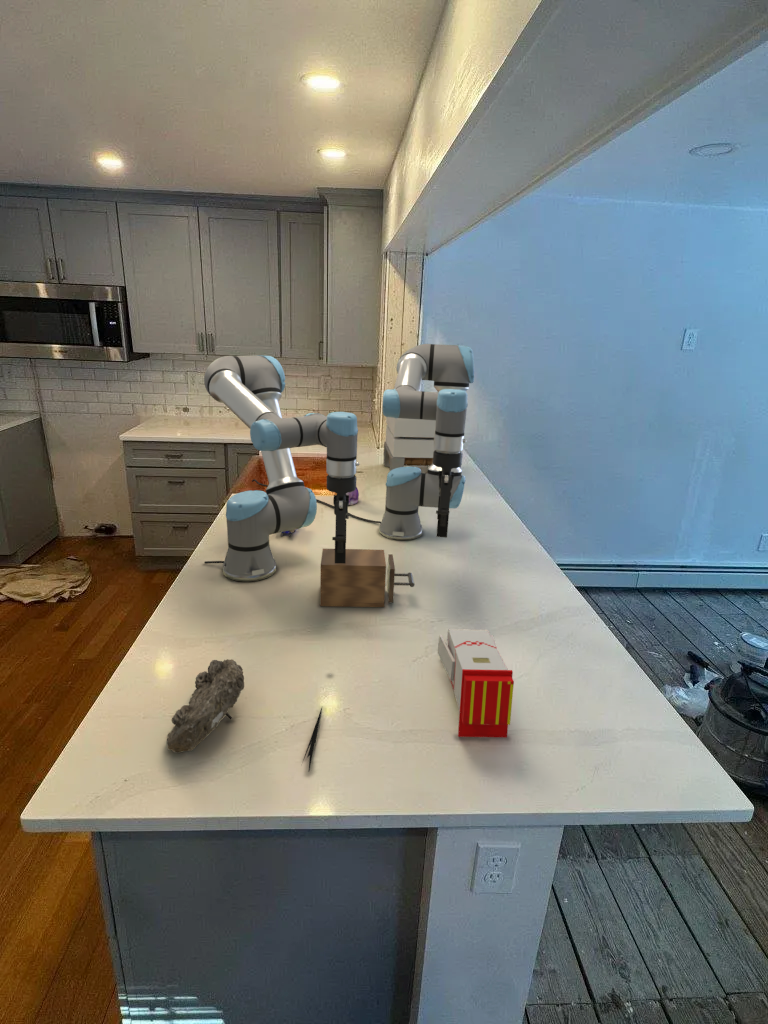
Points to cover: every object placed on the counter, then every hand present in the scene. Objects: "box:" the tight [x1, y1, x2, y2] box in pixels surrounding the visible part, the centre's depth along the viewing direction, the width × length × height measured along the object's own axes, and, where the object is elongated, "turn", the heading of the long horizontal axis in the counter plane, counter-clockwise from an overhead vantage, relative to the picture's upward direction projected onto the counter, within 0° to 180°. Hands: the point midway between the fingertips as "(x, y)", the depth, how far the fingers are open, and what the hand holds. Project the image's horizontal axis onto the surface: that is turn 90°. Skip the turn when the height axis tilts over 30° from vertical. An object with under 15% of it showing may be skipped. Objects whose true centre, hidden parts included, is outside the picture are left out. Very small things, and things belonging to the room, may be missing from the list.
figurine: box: [346, 486, 360, 506], centre depth 227 cm, size 9×10×15 cm
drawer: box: [386, 553, 415, 604], centre depth 153 cm, size 21×9×10 cm, turn 93°
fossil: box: [166, 658, 245, 754], centre depth 106 cm, size 22×10×15 cm
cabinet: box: [319, 548, 387, 608], centre depth 153 cm, size 17×10×12 cm, turn 93°
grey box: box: [383, 417, 463, 472], centre depth 268 cm, size 34×33×41 cm
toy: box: [437, 628, 515, 738], centre depth 117 cm, size 12×13×30 cm
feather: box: [301, 673, 332, 771], centre depth 108 cm, size 2×28×2 cm
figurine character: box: [280, 529, 296, 538], centre depth 196 cm, size 7×8×15 cm
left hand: (340, 552), depth 150 cm, fingers open, 13 cm apart
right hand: (441, 527), depth 153 cm, fingers open, 13 cm apart
